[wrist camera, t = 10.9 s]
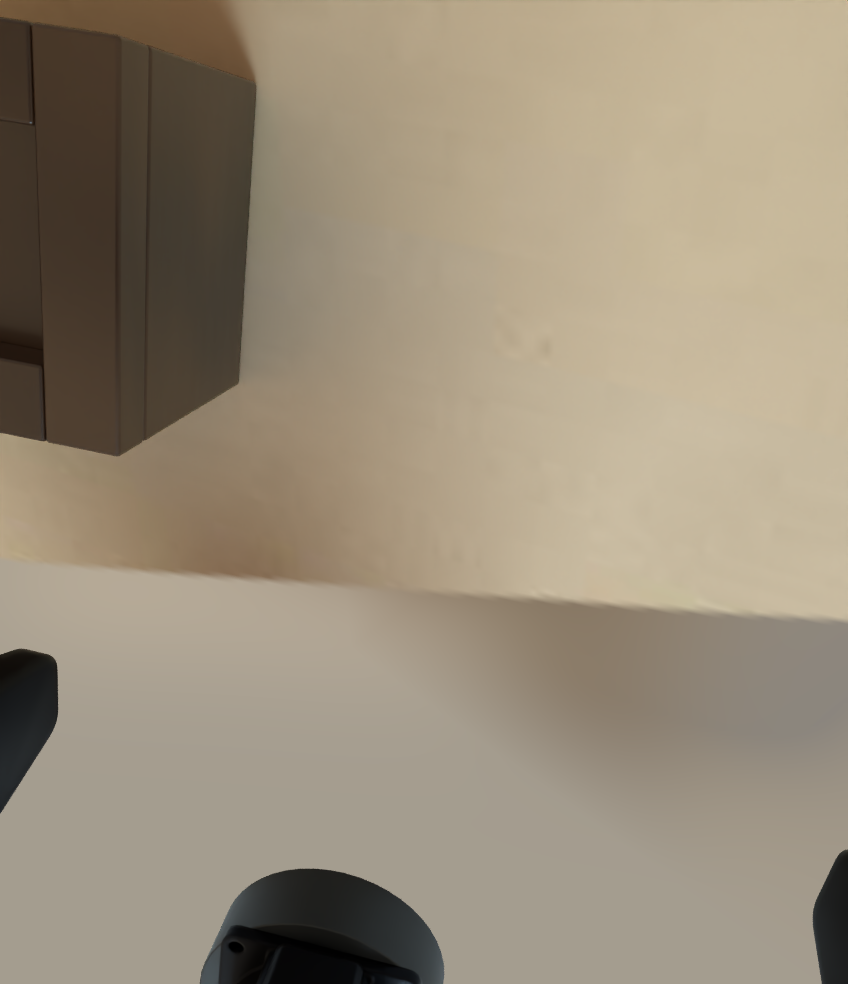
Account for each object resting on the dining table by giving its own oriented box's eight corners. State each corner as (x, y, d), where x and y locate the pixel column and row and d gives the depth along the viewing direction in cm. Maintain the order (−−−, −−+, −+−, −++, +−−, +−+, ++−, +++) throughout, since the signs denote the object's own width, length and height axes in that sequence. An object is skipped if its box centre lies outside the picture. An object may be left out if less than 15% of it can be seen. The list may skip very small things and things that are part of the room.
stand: (239, 384, 20) (119, 458, 15) (-12, 336, 21) (-218, 389, 15) (258, 82, 18) (120, 34, 12) (-31, 37, 18) (-287, -27, 13)
